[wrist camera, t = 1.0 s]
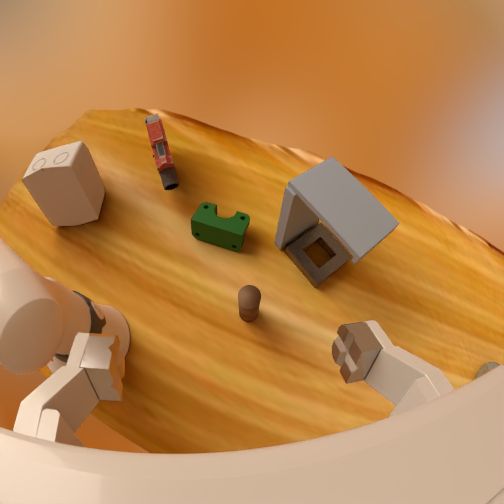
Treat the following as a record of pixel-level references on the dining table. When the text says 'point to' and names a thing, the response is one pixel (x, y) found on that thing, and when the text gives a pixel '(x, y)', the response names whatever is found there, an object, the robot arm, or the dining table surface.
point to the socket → (306, 264)
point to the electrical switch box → (66, 185)
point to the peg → (249, 302)
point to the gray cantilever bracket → (333, 209)
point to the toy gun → (161, 152)
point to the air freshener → (487, 368)
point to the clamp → (219, 227)
